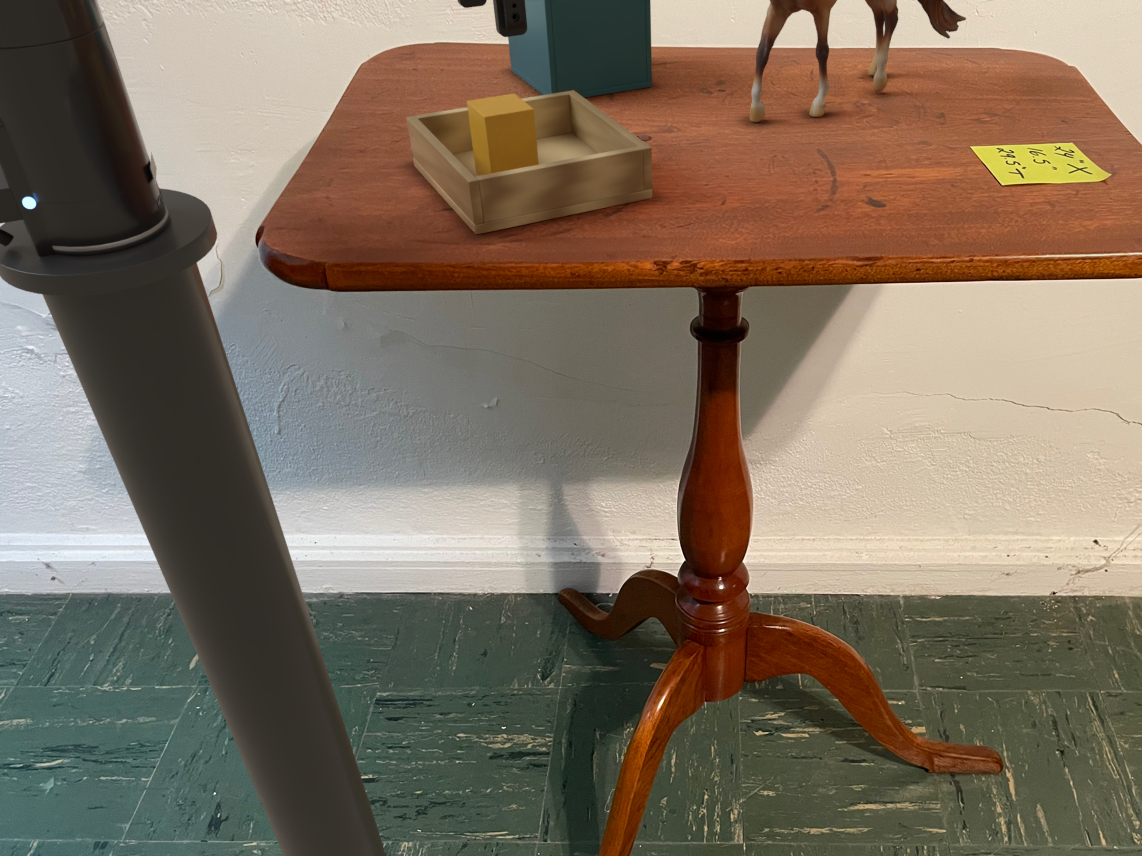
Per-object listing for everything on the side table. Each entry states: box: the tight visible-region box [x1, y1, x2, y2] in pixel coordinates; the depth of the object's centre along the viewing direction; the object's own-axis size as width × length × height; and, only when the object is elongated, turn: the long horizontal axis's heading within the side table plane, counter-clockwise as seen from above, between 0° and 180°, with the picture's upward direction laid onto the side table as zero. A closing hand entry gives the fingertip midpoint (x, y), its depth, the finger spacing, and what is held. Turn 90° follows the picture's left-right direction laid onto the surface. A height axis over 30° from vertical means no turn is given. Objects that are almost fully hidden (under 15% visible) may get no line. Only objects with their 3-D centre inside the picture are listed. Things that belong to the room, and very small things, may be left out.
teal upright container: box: [507, 0, 653, 99], centre depth 110 cm, size 11×11×11 cm
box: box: [405, 90, 653, 235], centre depth 91 cm, size 16×16×4 cm
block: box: [466, 93, 539, 176], centre depth 89 cm, size 4×4×6 cm
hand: (492, 19), depth 83 cm, fingers open, 8 cm apart
